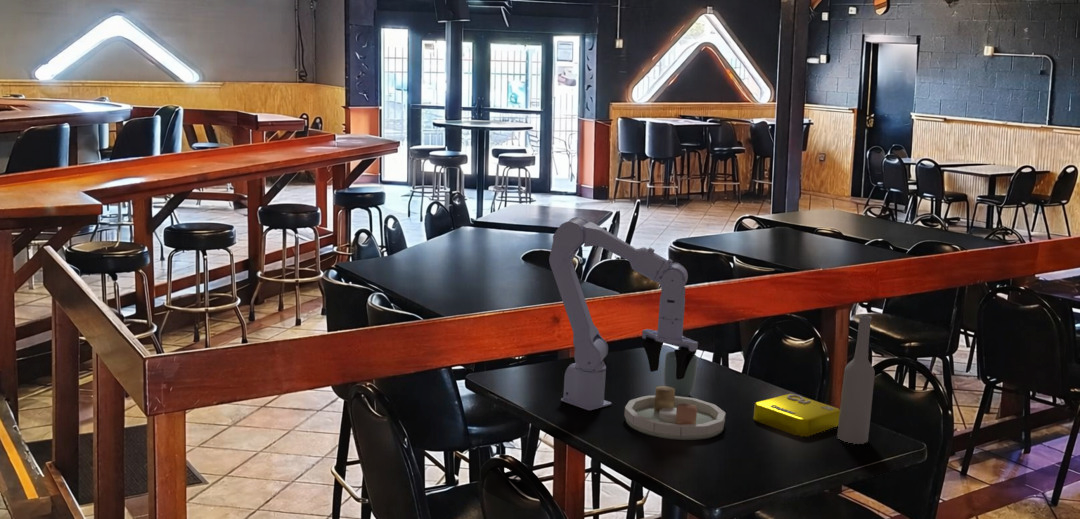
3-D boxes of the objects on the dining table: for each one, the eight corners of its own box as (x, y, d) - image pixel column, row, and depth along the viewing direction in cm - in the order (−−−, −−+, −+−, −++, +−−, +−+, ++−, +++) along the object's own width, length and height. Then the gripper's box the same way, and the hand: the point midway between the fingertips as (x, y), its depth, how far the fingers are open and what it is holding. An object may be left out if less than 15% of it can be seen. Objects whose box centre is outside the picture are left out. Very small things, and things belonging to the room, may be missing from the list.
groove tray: (605, 419, 237) (606, 406, 236) (666, 401, 252) (667, 389, 251) (682, 447, 221) (683, 433, 221) (743, 426, 236) (744, 413, 236)
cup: (693, 400, 254) (696, 361, 252) (661, 397, 255) (664, 357, 253) (695, 391, 261) (698, 353, 259) (664, 388, 263) (666, 349, 261)
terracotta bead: (671, 427, 230) (672, 405, 229) (683, 423, 233) (685, 402, 232) (687, 433, 227) (688, 411, 226) (699, 429, 230) (701, 407, 229)
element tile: (749, 420, 242) (751, 400, 242) (789, 409, 252) (791, 390, 251) (802, 439, 231) (804, 418, 230) (842, 427, 241) (844, 407, 240)
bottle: (850, 445, 227) (863, 320, 222) (830, 435, 233) (843, 313, 228) (874, 443, 230) (888, 319, 225) (854, 433, 236) (867, 312, 231)
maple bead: (650, 409, 242) (651, 388, 242) (662, 405, 245) (664, 385, 245) (665, 413, 239) (666, 392, 238) (677, 410, 242) (678, 389, 242)
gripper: (635, 313, 241) (631, 370, 243) (686, 326, 231) (681, 385, 233) (654, 309, 246) (650, 365, 248) (705, 321, 236) (700, 379, 238)
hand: (666, 374), depth 241 cm, fingers open, 7 cm apart
